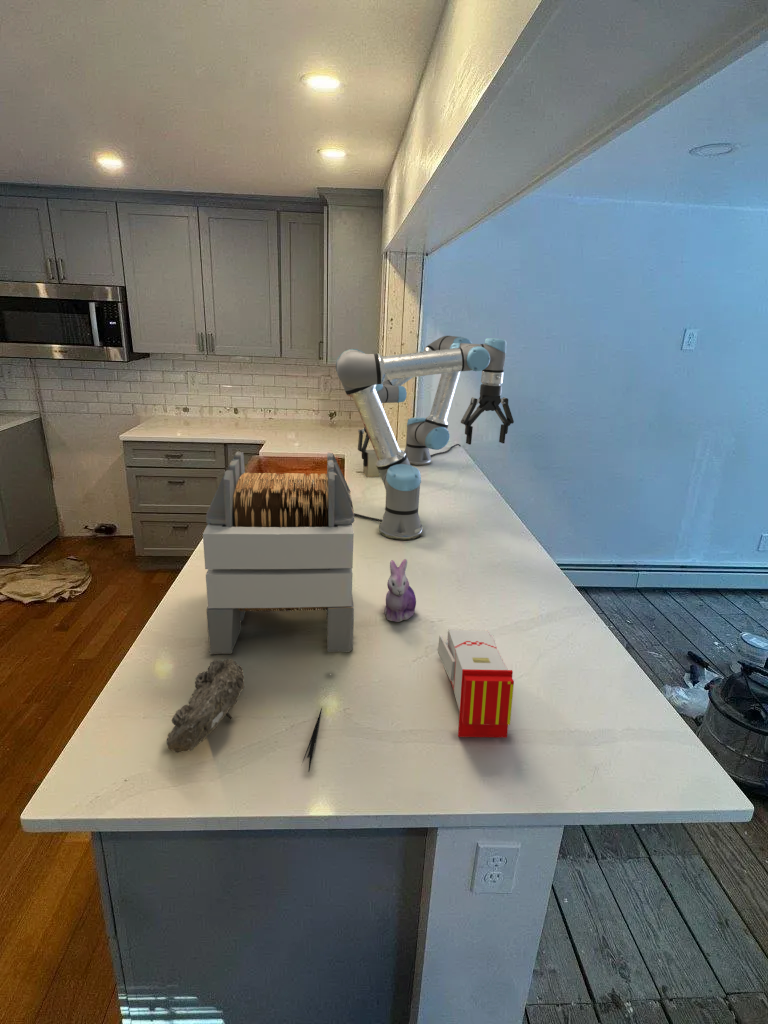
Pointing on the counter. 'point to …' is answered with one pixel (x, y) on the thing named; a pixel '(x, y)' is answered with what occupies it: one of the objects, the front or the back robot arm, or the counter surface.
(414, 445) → the back robot arm
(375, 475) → the block
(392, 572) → the figurine
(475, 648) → the toy
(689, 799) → the counter surface
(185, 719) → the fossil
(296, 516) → the record crate
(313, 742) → the feather
